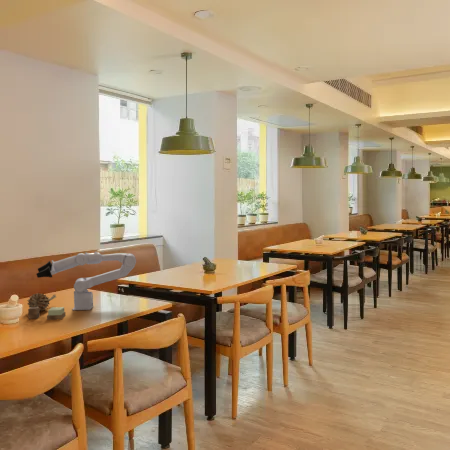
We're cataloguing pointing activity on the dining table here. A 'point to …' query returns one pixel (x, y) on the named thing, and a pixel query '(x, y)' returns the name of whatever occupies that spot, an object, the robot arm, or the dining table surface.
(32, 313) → the walnut block
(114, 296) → the dining table surface
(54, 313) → the slab top
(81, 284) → the robot arm
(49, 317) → the slab bottom
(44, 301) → the pine cone
